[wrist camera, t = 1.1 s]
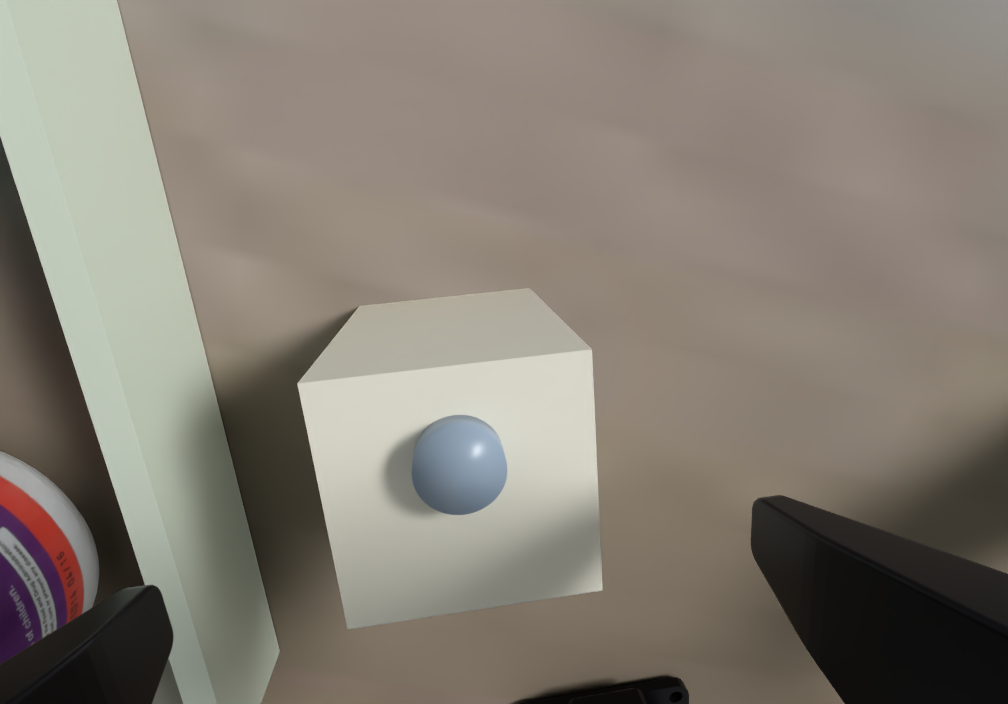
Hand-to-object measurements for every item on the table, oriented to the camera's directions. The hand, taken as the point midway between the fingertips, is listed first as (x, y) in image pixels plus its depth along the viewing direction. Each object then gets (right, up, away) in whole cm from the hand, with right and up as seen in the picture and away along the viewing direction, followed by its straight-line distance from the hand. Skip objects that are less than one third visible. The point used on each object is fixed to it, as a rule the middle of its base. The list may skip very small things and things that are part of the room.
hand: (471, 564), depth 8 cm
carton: (-1, +2, +8) cm, 9 cm away
